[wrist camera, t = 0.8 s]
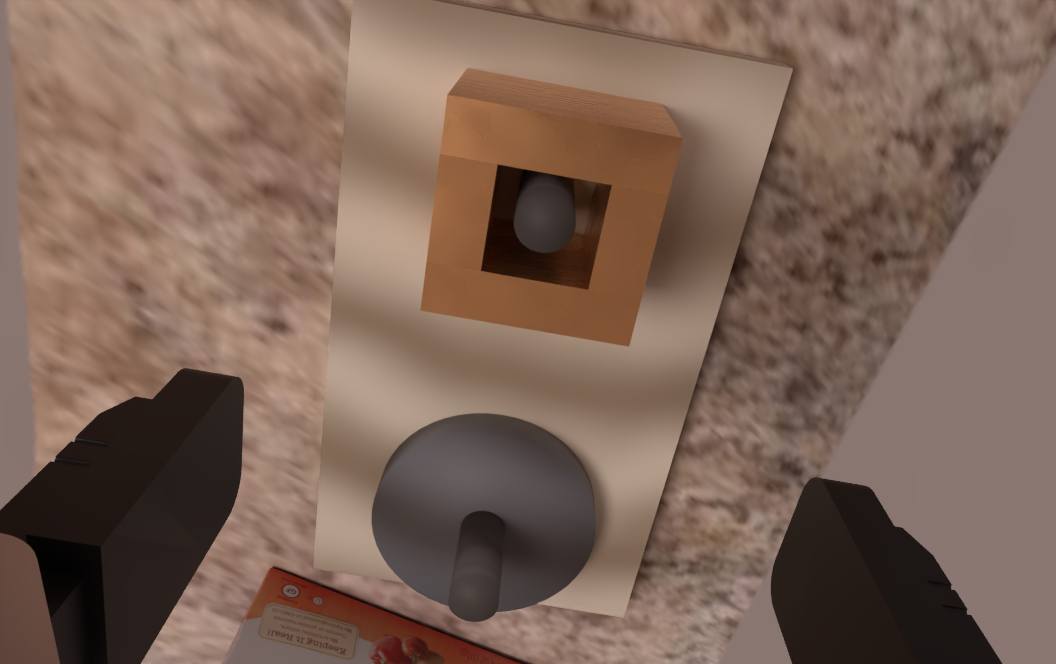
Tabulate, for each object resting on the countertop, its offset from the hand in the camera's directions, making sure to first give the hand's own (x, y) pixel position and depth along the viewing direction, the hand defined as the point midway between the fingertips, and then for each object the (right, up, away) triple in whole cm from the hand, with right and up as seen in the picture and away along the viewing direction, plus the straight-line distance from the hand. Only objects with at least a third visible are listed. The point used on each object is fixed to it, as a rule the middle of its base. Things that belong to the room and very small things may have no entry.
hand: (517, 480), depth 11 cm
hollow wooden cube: (+1, +7, +16) cm, 17 cm away
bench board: (0, +2, +20) cm, 20 cm away
